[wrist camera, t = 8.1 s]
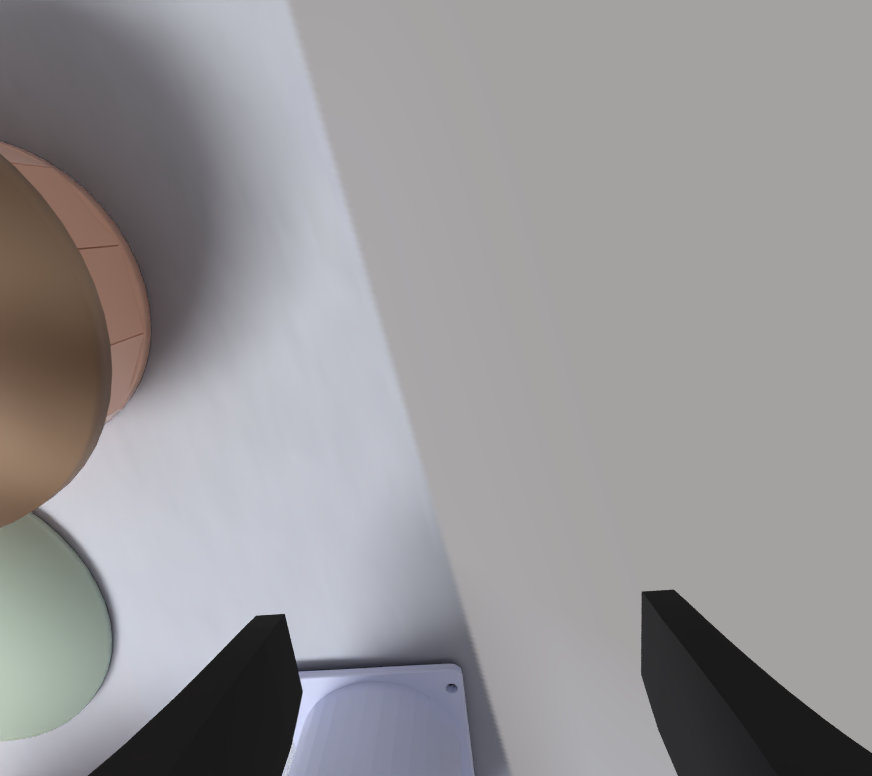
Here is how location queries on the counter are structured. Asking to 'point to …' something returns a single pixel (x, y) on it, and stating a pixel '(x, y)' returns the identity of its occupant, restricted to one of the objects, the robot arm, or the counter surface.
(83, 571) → the mat
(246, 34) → the counter surface
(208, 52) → the counter surface
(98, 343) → the lid
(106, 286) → the bowl
